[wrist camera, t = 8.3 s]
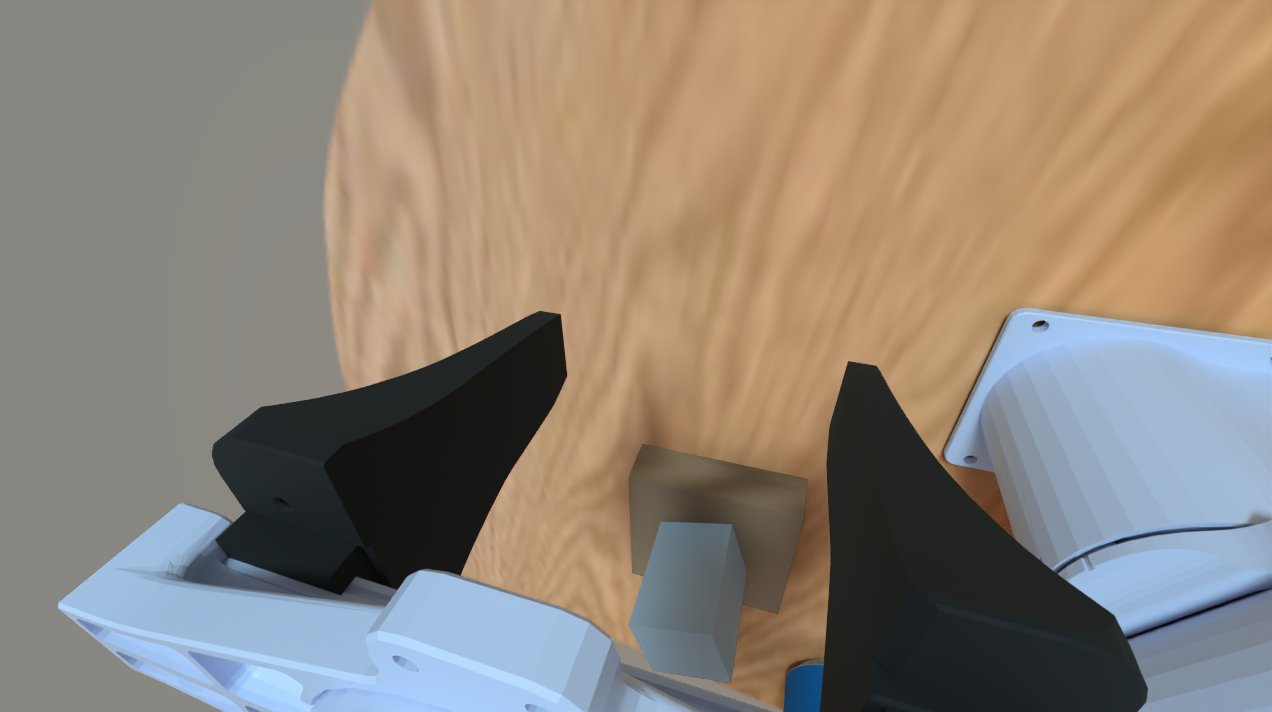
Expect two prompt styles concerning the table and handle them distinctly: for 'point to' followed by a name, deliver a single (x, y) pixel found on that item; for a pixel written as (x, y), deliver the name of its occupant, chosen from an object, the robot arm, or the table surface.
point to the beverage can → (804, 687)
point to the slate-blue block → (691, 601)
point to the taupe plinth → (720, 513)
